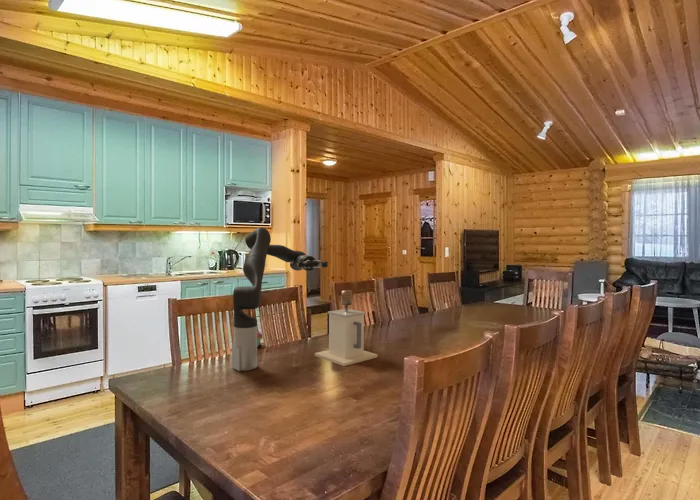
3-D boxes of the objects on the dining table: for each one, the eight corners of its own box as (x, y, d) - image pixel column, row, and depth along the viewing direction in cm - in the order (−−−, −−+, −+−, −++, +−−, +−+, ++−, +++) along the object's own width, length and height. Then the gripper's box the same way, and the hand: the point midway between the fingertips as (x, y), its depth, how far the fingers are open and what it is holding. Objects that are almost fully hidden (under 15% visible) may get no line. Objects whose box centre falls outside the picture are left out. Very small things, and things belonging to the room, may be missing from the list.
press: (344, 366, 184) (344, 318, 184) (314, 355, 199) (315, 311, 198) (377, 357, 198) (378, 312, 197) (347, 348, 213) (348, 306, 212)
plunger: (345, 347, 192) (345, 292, 191) (332, 343, 199) (332, 290, 198) (360, 343, 198) (360, 291, 197) (346, 340, 205) (347, 289, 204)
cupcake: (252, 349, 210) (252, 323, 209) (240, 346, 215) (240, 321, 214) (266, 345, 216) (266, 321, 216) (254, 342, 221) (254, 318, 221)
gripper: (293, 255, 221) (302, 257, 206) (320, 255, 226) (331, 257, 211) (293, 270, 221) (302, 273, 206) (320, 269, 226) (331, 272, 211)
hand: (316, 265), depth 208 cm, fingers open, 8 cm apart
